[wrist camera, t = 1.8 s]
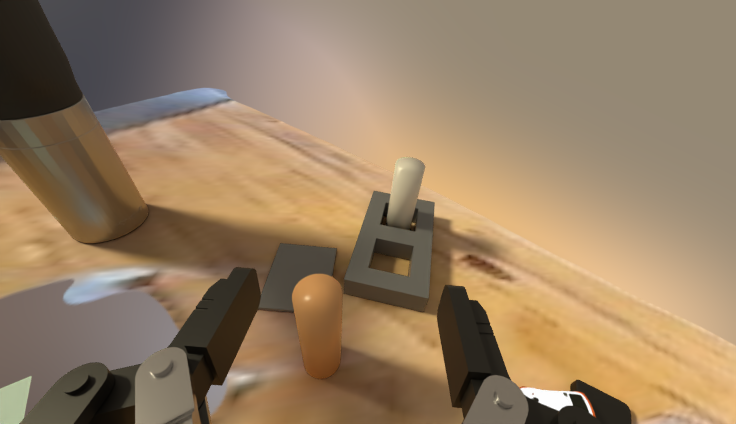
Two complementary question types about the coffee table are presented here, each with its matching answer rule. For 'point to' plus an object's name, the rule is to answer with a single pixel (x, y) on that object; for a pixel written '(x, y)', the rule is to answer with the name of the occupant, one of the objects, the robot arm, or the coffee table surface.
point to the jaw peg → (319, 323)
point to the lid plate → (293, 273)
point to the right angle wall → (14, 401)
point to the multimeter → (584, 402)
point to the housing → (395, 242)
